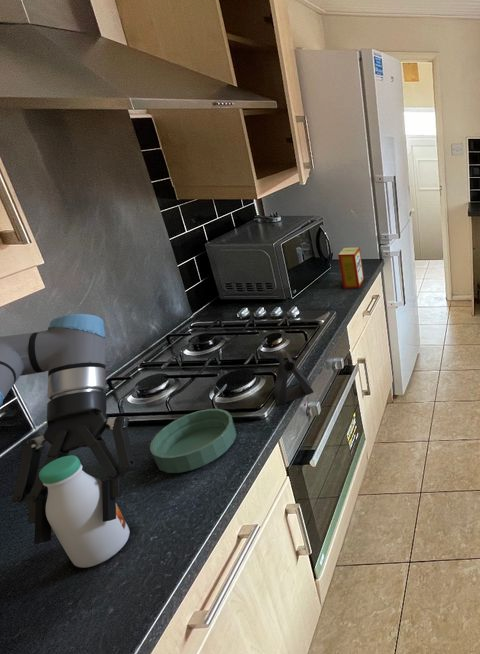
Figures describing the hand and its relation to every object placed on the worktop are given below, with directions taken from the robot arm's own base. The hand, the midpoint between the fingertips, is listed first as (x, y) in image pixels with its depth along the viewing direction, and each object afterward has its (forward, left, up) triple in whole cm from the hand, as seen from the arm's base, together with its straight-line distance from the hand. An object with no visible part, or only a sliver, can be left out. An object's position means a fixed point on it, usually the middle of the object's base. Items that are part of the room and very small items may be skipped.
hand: (77, 530), depth 69 cm
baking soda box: (+39, +115, -9) cm, 121 cm away
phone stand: (+25, +40, -9) cm, 48 cm away
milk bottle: (-1, +3, -9) cm, 9 cm away
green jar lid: (+7, +25, -9) cm, 28 cm away
